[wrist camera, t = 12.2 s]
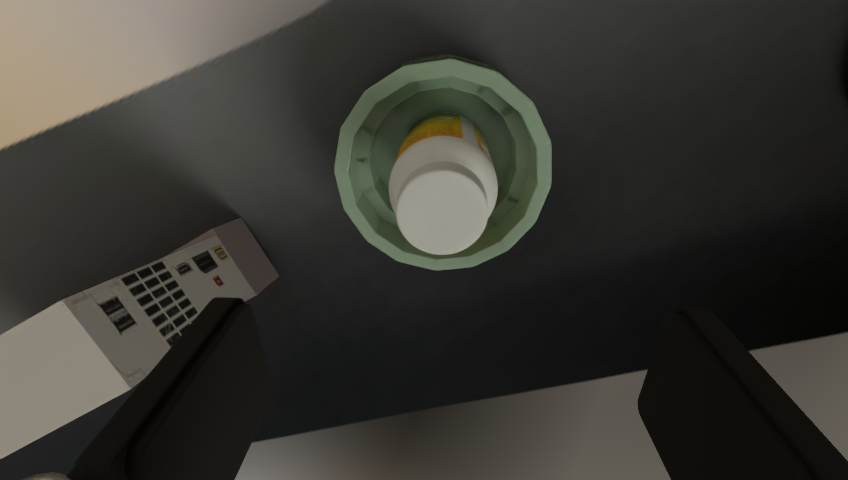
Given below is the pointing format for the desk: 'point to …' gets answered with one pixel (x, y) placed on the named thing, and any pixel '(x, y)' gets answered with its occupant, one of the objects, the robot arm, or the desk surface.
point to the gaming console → (117, 331)
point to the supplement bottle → (443, 184)
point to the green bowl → (431, 94)
